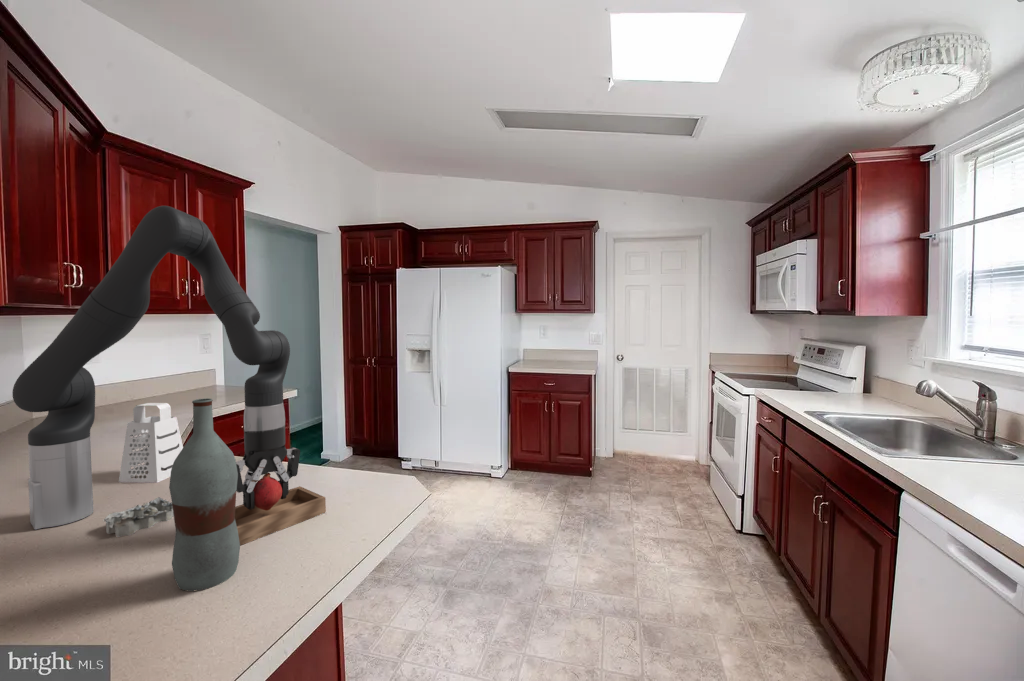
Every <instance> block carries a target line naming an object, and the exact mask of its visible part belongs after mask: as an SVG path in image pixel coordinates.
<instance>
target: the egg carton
mask: <svg viewBox="0 0 1024 681" xmlns="http://www.w3.org/2000/svg"><path fill="white" fill-rule="evenodd" d="M172 518H174V514H173V506H172V501H171V502H170V501H169V500H167V499H164V498H162V497H161V496H158V497H157V498H155V499H153V500H149V502H145V503H143V504H142V505H141V504H137V505H134V506H133V507H131V508H127V509H125V510H122V511H116V512H112V513H110V514H108V515H106V517H105V518H103V520H102V522H103V523H104V522H105V529H106V530H105V532H106V534H108V535H110V534H113V533H115V537H116V536H117V538H119V537H123V536H124V537H125V536H132V535H133V534H135V532H136V530H137V531H139V530H141V529H149V528H152V527H154V525H155V524H157V523H160V522H167V521H171V520H172Z"/></svg>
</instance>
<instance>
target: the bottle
mask: <svg viewBox="0 0 1024 681" xmlns="http://www.w3.org/2000/svg"><path fill="white" fill-rule="evenodd" d="M213 401H214V400H213V398H208V397H207V398H198V399H197V398H196V399H193V400H192V401H191V403H192V414H193V416H192V420H193V422H192V424H193V425H192V427H193V428H192V430H193V433H192V434H191V436H190V437H189V438H188V440H187V442H185V444H184V445H183V449H182V450H181V452H180V453H179V455H178V456H177V458H176V459H175V461H174V463H173V466H172V470H171V475H170V477H169V487H168V489H169V494H170V500H171V502H172V506H173V514H174V517H173V520H174V528H175V536H174V542H173V549H172V550H173V551H172V559H171V567H172V571H173V577H174V581H175V582H176V584H177V587H178V588H179V589H180V590H181V589H183V590H182V591H184V590H188V591H187V592H195V591H194V590H197V591H203V590H206V588H207V589H210V588H209V587H211V588H213V587H215V586H218V585H221V584H222V583H224V582H226V581H227V579H228V580H229V579H230V578H231V577H233V576H234V575H235V573H236V572H237V569H238V565H239V559H240V549H241V545H240V542H239V536H238V530H237V526H236V521H235V507H236V506H237V504H236V501H237V500H236V499H237V491H236V489H237V480H238V472H237V466H236V462H237V460H236V457H235V454H234V453H233V451H232V449H230V448H229V447H228V445H227V444H226V442H224V441H223V440H222V438H221V437H220V436H219V435H218V434H217V432H216V431H215V430H214V419H213V418H214V417H213V415H214V414H213ZM220 583H221V584H220ZM202 589H203V590H202Z"/></svg>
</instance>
